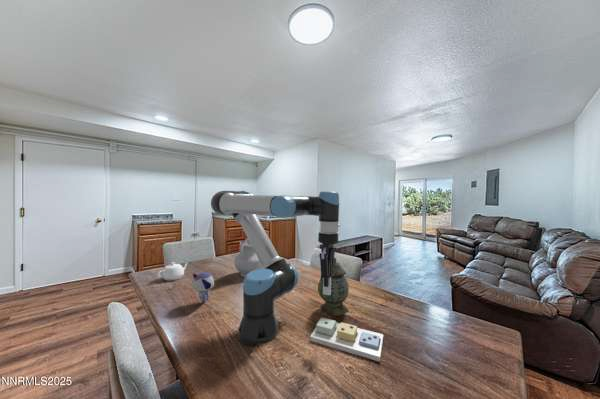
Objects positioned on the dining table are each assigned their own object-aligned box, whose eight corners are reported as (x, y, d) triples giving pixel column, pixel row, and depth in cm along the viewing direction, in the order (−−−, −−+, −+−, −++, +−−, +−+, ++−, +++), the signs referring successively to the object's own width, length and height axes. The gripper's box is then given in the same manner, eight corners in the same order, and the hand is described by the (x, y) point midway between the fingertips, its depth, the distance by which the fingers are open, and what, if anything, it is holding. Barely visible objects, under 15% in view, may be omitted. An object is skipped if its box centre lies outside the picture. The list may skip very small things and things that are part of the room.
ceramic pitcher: (258, 283, 140) (262, 243, 140) (227, 280, 140) (231, 240, 140) (264, 271, 162) (267, 237, 162) (237, 269, 162) (241, 234, 162)
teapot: (182, 271, 155) (182, 257, 155) (194, 275, 149) (194, 260, 149) (152, 281, 138) (152, 264, 138) (163, 285, 132) (163, 268, 132)
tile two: (336, 337, 81) (337, 330, 81) (341, 328, 86) (341, 321, 86) (353, 342, 78) (353, 334, 78) (356, 332, 84) (357, 325, 83)
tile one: (316, 331, 84) (316, 324, 84) (321, 323, 89) (321, 316, 89) (331, 335, 81) (331, 328, 81) (336, 327, 87) (336, 320, 87)
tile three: (359, 348, 77) (359, 340, 77) (362, 338, 83) (362, 331, 83) (377, 353, 75) (377, 345, 75) (379, 343, 80) (379, 335, 80)
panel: (309, 343, 81) (310, 336, 81) (321, 324, 93) (321, 318, 93) (379, 364, 71) (380, 356, 71) (383, 341, 83) (383, 334, 83)
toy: (218, 303, 111) (218, 272, 111) (198, 310, 104) (198, 277, 103) (208, 296, 118) (208, 267, 118) (189, 302, 111) (189, 272, 111)
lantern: (346, 321, 96) (347, 263, 96) (314, 315, 101) (315, 259, 100) (350, 306, 109) (351, 255, 109) (322, 301, 114) (323, 252, 114)
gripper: (333, 235, 77) (331, 303, 78) (342, 230, 89) (340, 289, 90) (312, 233, 81) (311, 298, 81) (324, 229, 92) (322, 286, 93)
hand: (326, 293), depth 85 cm, fingers closed
